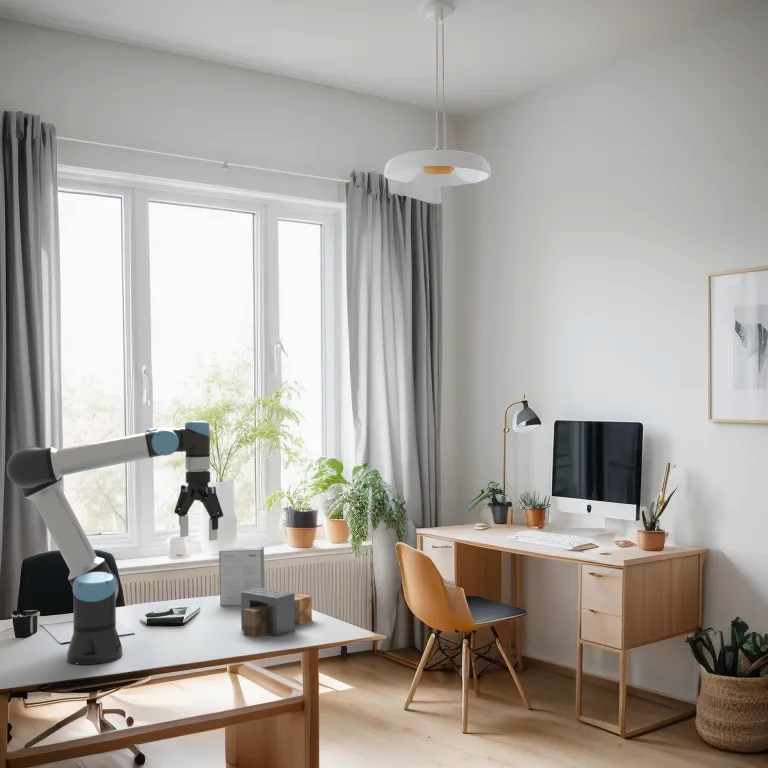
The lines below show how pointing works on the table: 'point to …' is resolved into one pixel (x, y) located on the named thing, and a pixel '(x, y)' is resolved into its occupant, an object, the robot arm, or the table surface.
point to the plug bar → (259, 616)
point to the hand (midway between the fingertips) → (198, 538)
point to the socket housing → (272, 609)
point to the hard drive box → (240, 572)
